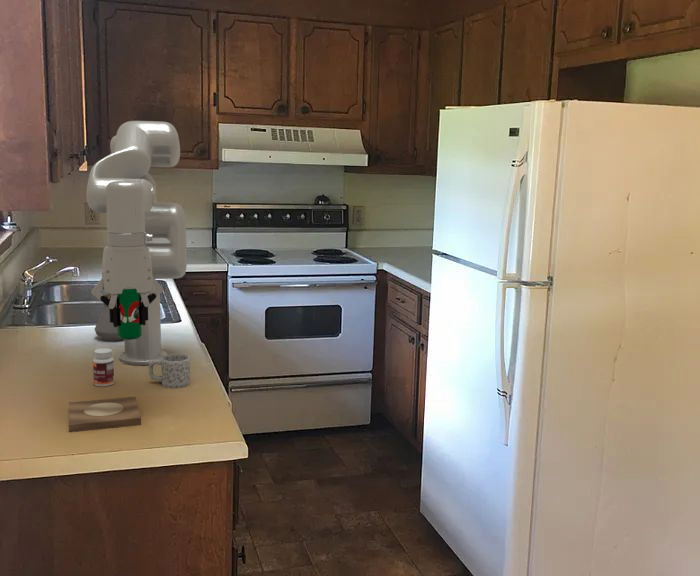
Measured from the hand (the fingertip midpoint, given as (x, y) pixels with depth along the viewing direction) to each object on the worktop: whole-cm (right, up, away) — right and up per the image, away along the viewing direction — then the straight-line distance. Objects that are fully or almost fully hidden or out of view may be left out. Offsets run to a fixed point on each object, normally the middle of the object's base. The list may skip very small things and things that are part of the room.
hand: (129, 323), depth 159 cm
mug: (+3, -16, +23) cm, 28 cm away
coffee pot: (-19, -7, +65) cm, 68 cm away
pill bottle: (-12, -16, +21) cm, 29 cm away
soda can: (0, -3, +1) cm, 3 cm away
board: (-5, -20, 0) cm, 21 cm away
